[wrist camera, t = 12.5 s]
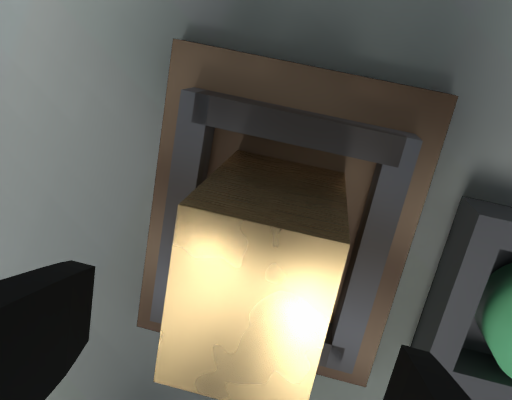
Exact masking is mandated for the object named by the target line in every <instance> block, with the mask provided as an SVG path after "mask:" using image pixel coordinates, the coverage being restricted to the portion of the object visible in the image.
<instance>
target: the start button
mask: <svg viewBox="0 0 512 400" xmlns="http://www.w3.org/2000/svg"><path fill="white" fill-rule="evenodd" d="M474 316H475V320H476V323H477V326H478V328H479V329H480V331H481V333H482V335H483V337H484V339H485V341H486V343H487V344H488V346H489V348H490V350H491V352H492V354H493V356H494V358H495V359H496V361H497V363H498V365H499V366H500V368H501V369H502V370H503V371H504V372H505V373H506V374H507V375H508V376H509V377H510V378H512V263H510V264H507V265H505V266H503V267H501V268H499V269H498V270H496V271H495V272H494V273H492V274H491V275H490V276H489V279H488V281H487V284H486V286H485V289H484V292H483V294H482V297H481V299H480V302H479V305H478V307H477V310H476V312H475V315H474Z"/></svg>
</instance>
